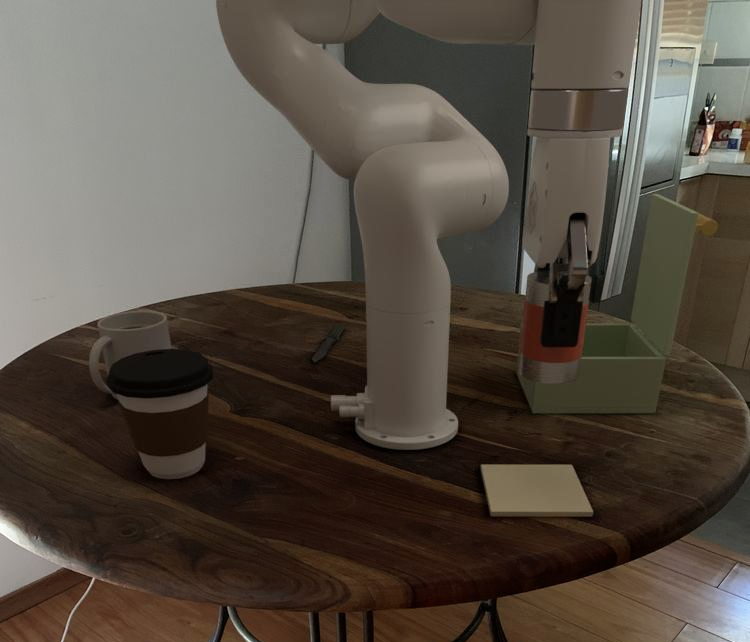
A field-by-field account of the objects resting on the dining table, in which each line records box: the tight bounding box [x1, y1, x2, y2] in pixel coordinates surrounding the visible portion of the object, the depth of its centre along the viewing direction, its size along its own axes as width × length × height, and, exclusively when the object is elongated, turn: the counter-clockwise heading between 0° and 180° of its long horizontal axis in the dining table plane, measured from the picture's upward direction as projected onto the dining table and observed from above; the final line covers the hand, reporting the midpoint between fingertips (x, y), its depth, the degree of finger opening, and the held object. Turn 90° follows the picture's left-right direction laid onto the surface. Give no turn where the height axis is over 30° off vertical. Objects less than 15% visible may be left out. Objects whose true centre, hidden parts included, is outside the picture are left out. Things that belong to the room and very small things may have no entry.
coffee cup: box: [105, 348, 214, 480], centre depth 79 cm, size 11×11×12 cm
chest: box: [516, 322, 667, 414], centre depth 98 cm, size 16×15×7 cm
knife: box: [311, 322, 346, 364], centre depth 118 cm, size 18×1×3 cm
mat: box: [480, 464, 594, 518], centre depth 76 cm, size 10×10×1 cm
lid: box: [630, 193, 718, 356], centre depth 92 cm, size 16×15×5 cm
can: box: [519, 270, 592, 384], centre depth 68 cm, size 6×6×9 cm
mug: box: [88, 310, 172, 401], centre depth 99 cm, size 11×10×10 cm
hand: (551, 332), depth 68 cm, fingers closed on can, 5 cm apart
